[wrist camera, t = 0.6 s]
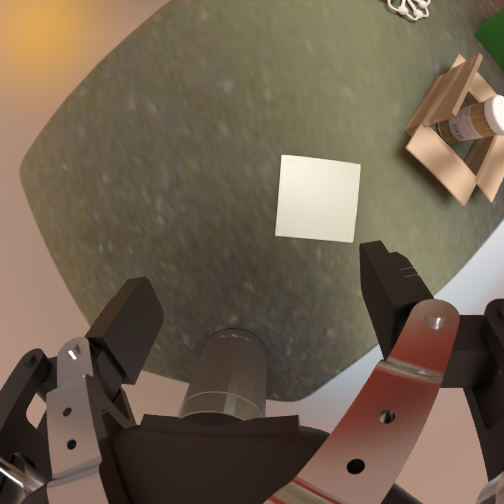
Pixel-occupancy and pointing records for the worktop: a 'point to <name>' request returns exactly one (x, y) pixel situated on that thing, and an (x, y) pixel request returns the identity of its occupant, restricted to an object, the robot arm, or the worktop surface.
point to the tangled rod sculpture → (416, 13)
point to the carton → (438, 152)
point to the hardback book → (493, 36)
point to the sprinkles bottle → (474, 121)
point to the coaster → (317, 199)
